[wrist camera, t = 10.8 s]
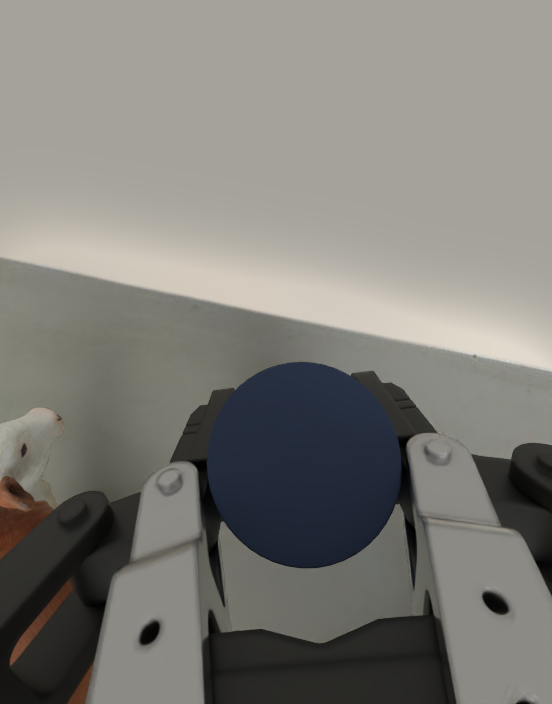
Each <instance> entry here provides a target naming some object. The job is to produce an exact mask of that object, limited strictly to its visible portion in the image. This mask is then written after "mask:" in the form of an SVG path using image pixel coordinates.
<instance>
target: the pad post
mask: <svg viewBox="0 0 552 704" xmlns="http://www.w3.org/2000/svg"><path fill="white" fill-rule="evenodd" d="M401 473H402V464H401V452H400V447H399V442H398V439H397V435H396V432H395V429H394V427H393V425H392V422H391V420H390V418H389V416H388V414H387V413H386V411H385V410H384V408H383V406H382V405H381V404H380V402H379V401H378V400H377V399H376V397H375V396H374V395H373V394H372V393H371V392H370V391H369V390H368V389H367V388H366V387H365V386H364V385H362V384H361V383H360V382H359V381H357V380H356V379H354V378H353V377H351V376H349V375H348V374H346V373H344V372H342V371H340V370H338V369H335V368H332V367H329V366H326V365H322V364H317V363H309V362H294V363H286V364H281V365H277V366H274V367H270V368H268V369H265V370H263V371H261V372H259V373H257V374H255V375H254V376H252V377H251V378H249V379H248V380H246V381H245V382H244V383H243V384H241V385H240V386H239V387H238V388H237V389H236V390H235V391H234V392H233V393H232V394H231V395H230V397H229V398H228V399H227V401H226V402H225V403H224V405H223V407H222V408H221V410H220V412H219V413H218V415H217V418H216V420H215V422H214V425H213V428H212V431H211V434H210V438H209V444H208V450H207V474H208V481H209V486H210V491H211V494H212V497H213V500H214V503H215V505H216V507H217V509H218V511H219V513H220V515H221V517H222V519H223V520H224V522H225V523H226V525H227V526H228V528H229V529H230V530H231V531H232V532H233V534H234V535H235V536H236V537H237V538H238V539H239V540H240V541H241V542H242V543H243V544H244V545H246V546H247V547H248V548H249V549H251V550H252V551H254V552H255V553H257V554H258V555H260V556H261V557H264V558H266V559H268V560H270V561H272V562H275V563H278V564H281V565H285V566H289V567H296V568H319V567H325V566H330V565H333V564H336V563H339V562H342V561H344V560H346V559H348V558H350V557H352V556H354V555H356V554H357V553H359V552H360V551H361V550H363V549H364V548H365V547H367V546H368V545H369V544H370V543H371V542H372V541H373V540H374V539H375V538H376V537H377V536H378V535H379V533H380V532H381V530H382V529H383V528H384V526H385V525H386V523H387V521H388V520H389V518H390V516H391V514H392V512H393V510H394V507H395V504H396V501H397V498H398V494H399V489H400V485H401Z"/></svg>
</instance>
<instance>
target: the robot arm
mask: <svg viewBox="0 0 552 704" xmlns="http://www.w3.org/2000/svg"><path fill="white" fill-rule="evenodd" d="M351 377H353V378H354V379H356V380H357V381H359V382H360V383H361V384H362V385H364V386H365V387H366V388H367V389H368V390H369V391H370V392H371V393H372V394H373V395H374V396H375V397H376V399H377V400H378V401H379V402H380V404H381V405H382V406H383V408H384V410H385V411H386V413H387V414H388V416H389V418H390V420H391V422H392V425H393V427H394V429H395V432H396V435H397V439H398V442H399V447H400V452H401V464H402V473H401V485H400V489H399V494H398V498H397V501H396V504H400V506H401V508H402V510H403V513H404V519H403V527H404V535H405V544H406V553H407V562H408V571H409V579H410V588H411V597H412V613H413V616H407V617H395V618H384V619H377V620H375V621H373V622H371V623H368V624H366V625H364V626H362V627H360V628H357V629H355V630H353V631H351V632H348V633H346V634H344V635H342V636H340V637H337V638H335V639H333V640H331V641H328V642H326V643H314V642H310V641H306V640H302V639H298V638H294V637H290V636H286V635H282V634H279V633H275V632H271V631H267V630H263V629H257V630H245V631H232V627H231V622H230V616H229V609H228V601H227V593H226V585H225V577H224V569H223V562H222V554H221V546H220V541H219V537H218V535H219V529H220V524H221V522H224V520H223V519H222V517H221V515H220V513H219V511H218V509H217V507H216V505H215V503H214V500H213V497H212V494H211V491H210V486H209V481H208V474H207V450H208V444H209V438H210V434H211V431H212V428H213V425H214V422H215V420H216V418H217V415H218V413H219V412H220V410H221V408H222V407H223V405H224V403H225V402H226V401H227V399H228V398H229V397H230V395H231V394H232V393H233V392H234V391H235V389H234V388H229V389H221V390H214V391H213V392H212V395H211V397H210V400H209V403H208V405H201V406H199V407H198V408H197V409H196V410H195V411H194V412H193V413H192V414H191V415H190V418H189V420H188V422H187V424H186V427H185V429H184V431H183V435H182V436H181V438H180V440H179V442H178V445H177V447H176V449H175V451H174V454H173V456H172V458H171V460H170V463H169V464H167V465H165V466H162V467H161V468H159V469H157V470H156V471H155V472H153V473H152V474H151V475H150V476H149V477H148V478H147V480H146V481H145V482H144V484H143V486H142V490H141V492H139V493H136V494H134V495H131V496H128V497H125V498H123V499H120V500H117V501H114V502H112V503H109V501H108V499H107V497H106V495H105V494H104V493H102V492H100V491H88V492H84V493H81V494H78V495H76V496H74V497H72V498H70V499H68V500H66V501H65V502H63V503H62V504H61V505H59V506H58V507H57V508H56V509H54V510H53V511H52V512H51V513H50V514H49V515H48V516H47V517H46V518H45V519H43V520H42V521H41V522H40V523H39V524H38V525H37V526H36V527H35V528H34V529H33V530H32V531H31V532H29V533H28V534H27V535H26V536H25V537H24V538H23V539H22V540H21V541H20V542H19V543H18V544H16V545H15V546H14V547H13V548H12V549H11V550H10V551H9V552H8V553H7V554H6V555H5V556H3V557H2V558H1V559H0V704H67V703H68V702H69V700H70V698H71V697H72V695H73V694H74V692H75V690H76V689H77V687H78V686H79V684H80V682H81V681H82V679H83V678H84V676H85V675H86V673H87V671H88V670H89V668H90V667H91V665H92V663H93V662H94V665H93V670H92V674H91V679H90V684H89V689H88V693H87V698H86V703H85V704H552V446H551V445H547V444H540V443H527V444H522V445H519V446H518V447H516V448H515V449H514V451H513V453H512V458H511V460H510V459H502V458H493V457H484V456H478V455H473V454H471V453H470V452H469V450H468V449H467V448H466V447H465V446H464V445H463V444H462V443H460V442H459V441H457V440H455V439H453V438H451V437H449V436H446V435H442V434H438V433H437V432H436V430H435V429H434V428H433V427H432V425H431V424H430V423H429V422H428V420H427V419H426V418H425V417H424V415H423V414H422V413H421V412H420V410H419V409H418V408H416V405H415V404H414V403H413V402H412V400H410V398H409V396H408V395H407V394H406V393H405V391H404V390H403V389H401V388H400V387H398V386H396V385H394V384H393V383H391V382H390V383H382V382H381V381H380V380H379V378H378V377H377V375H376V374H375V372H374V371H366V372H358V373H352V374H351ZM67 581H69V583H70V585H71V586H72V588H73V590H72V591H71V592H70V594H69V595H68V596H67V597H66V599H65V600H64V601H63V602H62V604H61V605H60V606H59V607H58V609H57V610H56V611H55V612H54V614H53V615H52V616H51V617H50V619H49V620H48V621H47V622H46V624H45V625H44V626H43V627H42V629H41V630H40V631H39V632H38V634H37V635H36V636H35V637H34V639H33V640H32V641H31V642H30V644H29V645H28V646H27V647H26V648H25V650H24V651H23V652H22V653H21V655H20V656H19V657H18V658H17V660H16V661H15V662H14V663H13V664H12V665H11V666H10V658H11V655H12V652H13V650H14V647H15V646H16V644H17V642H18V641H19V639H20V638H21V636H22V635H23V634H24V632H25V631H26V630H27V629H28V628H29V626H30V625H31V624H32V623H33V622H34V620H35V619H36V618H37V617H38V616H39V614H40V613H41V612H42V611H43V610H44V608H45V607H46V606H47V605H48V604H49V602H50V601H51V600H52V599H53V598H54V596H55V595H56V594H57V593H58V592H59V591H60V589H61V588H62V587H63V586H64V585H65V583H66V582H67Z"/></svg>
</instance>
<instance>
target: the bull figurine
mask: <svg viewBox="0 0 552 704" xmlns="http://www.w3.org/2000/svg"><path fill="white" fill-rule="evenodd" d="M64 427H65V422H64V420H63V419H62V418H61V417H60V416H59V415H57V413H56V412H54V411H53V410H50V409H47V408H42V407H37V408H34V409H31V410H30V411H29V412H28V413H27V414H26V415H25V416H23V417H20V418H17V419H14V420H11V421H8V422H4V423H0V559H1V558H2V557H3V556H5V555H6V554H7V553H8V552H9V551H10V550H11V549H12V548H13V547H14V546H15V545H16V544H18V543H19V542H20V541H21V540H22V539H23V538H24V537H25V536H26V535H27V534H28V533H29V532H31V531H32V530H33V529H34V528H35V527H36V526H37V525H38V524H39V523H40V522H41V521H42V520H43V519H45V518H46V517H47V516H48V515H49V514H50V513H51V512H52V511H53V510H54V509H56V508H57V507H58V506H59V504H58V503H57V502H56V500H55V498H54V496H53V494H52V491H51V490H52V488H51V486H50V484H48V483H47V482H45V481H44V480H42V479H41V477H42V474H43V471H44V469H45V467H46V465H47V463H48V460H49V449H50V444H51V442H52V441H54V440H56V439H57V438H59V437H60V436H61V435H62V433H63V431H64ZM72 590H73V588H72V586H71V585H70V583H69V581H67V582H66V583H65V585H64V586H63V587H62V588H61V589H60V591H59V592H58V593H57V594H56V595H55V596H54V598H53V599H52V600H51V601H50V602H49V604H48V605H47V606H46V607H45V608H44V610H43V611H42V612H41V613H40V614H39V616H38V617H37V618H36V619H35V620H34V622H33V623H32V624H31V625H30V626H29V628H28V629H27V630H26V631H25V632H24V634H23V635H22V636H21V638H20V639H19V641H18V642H17V644H16V646H15V647H14V650H13V652H12V655H11V658H10V666H11V665H12V664H13V663H14V662H15V661H16V660H17V658H18V657H19V656H20V655H21V653H22V652H23V651H24V650H25V648H26V647H27V646H28V645H29V644H30V642H31V641H32V640H33V639H34V637H35V636H36V635H37V634H38V632H39V631H40V630H41V629H42V627H43V626H44V625H45V624H46V622H47V621H48V620H49V619H50V617H51V616H52V615H53V614H54V612H55V611H56V610H57V609H58V607H59V606H60V605H61V604H62V602H63V601H64V600H65V599H66V597H67V596H68V595H69V594H70V592H71V591H72ZM93 665H94V662H93V663H92V665H91V667H90V668H89V670H88V671H87V673H86V675H85V676H84V678H83V679H82V681H81V682H80V684H79V686H78V687H77V689H76V690H75V692H74V694H73V695H72V697H71V698H70V700H69V702H68V703H67V704H85V703H86V698H87V693H88V689H89V684H90V679H91V674H92V670H93Z"/></svg>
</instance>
